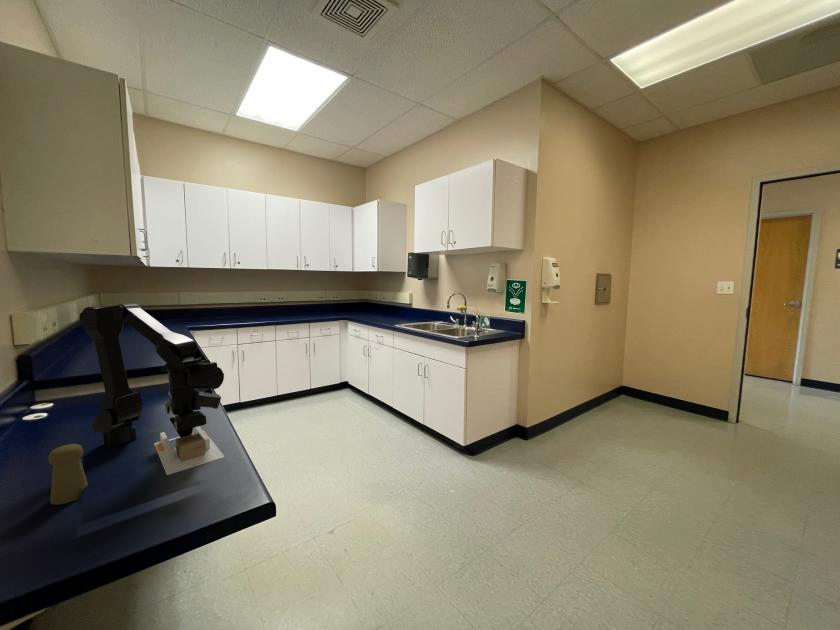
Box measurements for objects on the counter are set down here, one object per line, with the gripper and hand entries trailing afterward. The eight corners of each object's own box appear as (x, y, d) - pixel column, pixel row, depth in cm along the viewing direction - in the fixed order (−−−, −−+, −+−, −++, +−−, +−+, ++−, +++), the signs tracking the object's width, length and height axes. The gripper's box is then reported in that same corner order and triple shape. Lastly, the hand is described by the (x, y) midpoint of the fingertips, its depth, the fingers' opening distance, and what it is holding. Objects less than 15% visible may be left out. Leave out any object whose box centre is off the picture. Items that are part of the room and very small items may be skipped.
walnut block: (176, 453, 90) (175, 438, 89) (199, 447, 93) (198, 432, 93) (181, 461, 85) (180, 446, 85) (204, 454, 89) (203, 439, 88)
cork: (54, 508, 70) (48, 456, 69) (46, 498, 74) (40, 449, 72) (93, 492, 75) (89, 444, 74) (84, 484, 79) (80, 438, 78)
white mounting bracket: (154, 448, 96) (153, 434, 95) (204, 435, 104) (203, 422, 103) (167, 481, 80) (166, 464, 79) (225, 462, 88) (224, 447, 88)
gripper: (226, 388, 90) (230, 445, 91) (208, 374, 103) (211, 424, 105) (175, 398, 82) (180, 460, 84) (162, 382, 96) (166, 436, 97)
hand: (186, 443), depth 93 cm, fingers closed
